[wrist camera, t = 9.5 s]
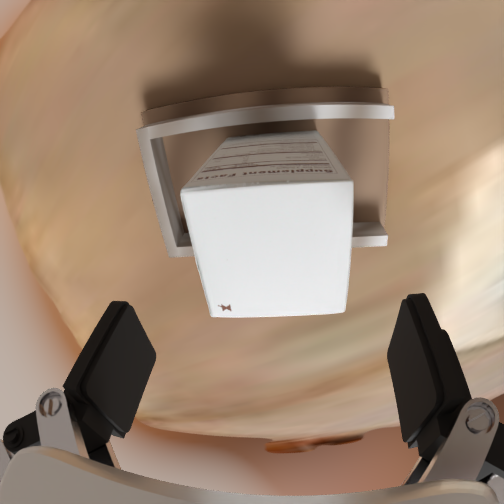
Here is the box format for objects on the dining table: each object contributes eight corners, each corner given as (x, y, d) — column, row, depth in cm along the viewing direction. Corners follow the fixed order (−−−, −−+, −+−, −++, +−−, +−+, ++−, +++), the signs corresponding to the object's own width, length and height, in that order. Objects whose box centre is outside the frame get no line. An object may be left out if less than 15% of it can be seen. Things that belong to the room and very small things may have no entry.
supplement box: (321, 212, 25) (346, 318, 15) (236, 216, 26) (206, 321, 16) (319, 127, 21) (359, 179, 11) (225, 133, 22) (173, 190, 12)
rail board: (382, 88, 20) (399, 90, 17) (378, 234, 28) (390, 257, 24) (148, 109, 23) (127, 116, 20) (179, 245, 30) (167, 268, 27)
